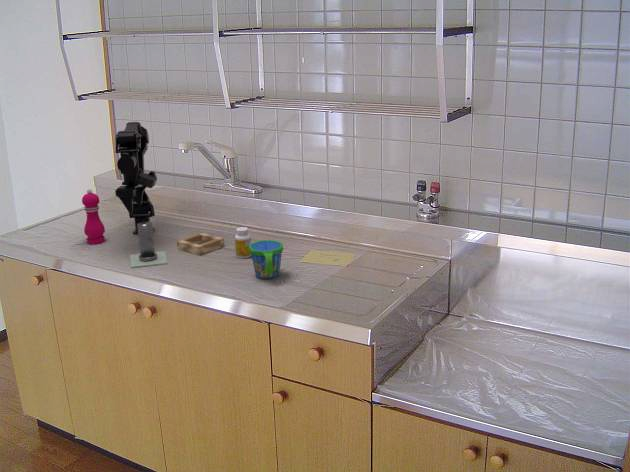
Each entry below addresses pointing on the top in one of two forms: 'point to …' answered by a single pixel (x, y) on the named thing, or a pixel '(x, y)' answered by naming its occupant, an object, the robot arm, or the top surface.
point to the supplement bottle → (242, 242)
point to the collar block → (208, 244)
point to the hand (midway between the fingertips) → (135, 209)
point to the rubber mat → (159, 261)
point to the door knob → (146, 242)
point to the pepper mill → (93, 219)
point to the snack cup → (266, 258)
